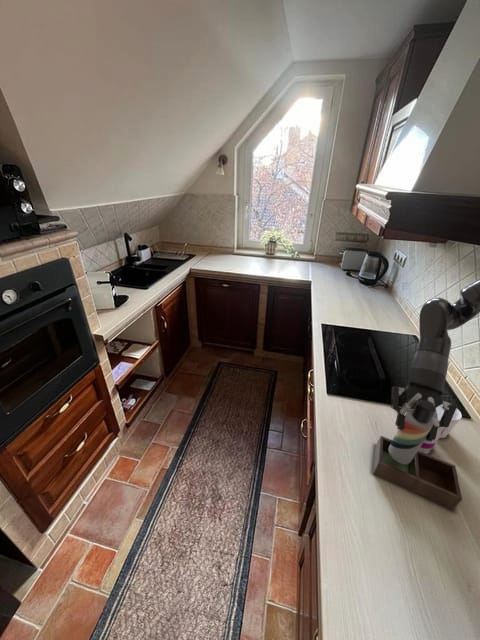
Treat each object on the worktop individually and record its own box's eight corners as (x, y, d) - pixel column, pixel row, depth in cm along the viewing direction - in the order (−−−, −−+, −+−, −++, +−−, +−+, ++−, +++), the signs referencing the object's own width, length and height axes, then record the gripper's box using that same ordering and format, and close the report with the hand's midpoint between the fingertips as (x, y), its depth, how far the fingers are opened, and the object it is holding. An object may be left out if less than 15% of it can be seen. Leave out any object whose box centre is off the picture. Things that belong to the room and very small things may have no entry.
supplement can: (429, 438, 82) (449, 406, 75) (431, 460, 76) (453, 427, 68) (401, 427, 86) (417, 395, 78) (400, 446, 79) (418, 414, 72)
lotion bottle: (393, 441, 74) (418, 391, 64) (414, 456, 70) (445, 405, 60) (384, 453, 71) (410, 402, 61) (406, 469, 67) (437, 418, 57)
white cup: (443, 445, 80) (457, 424, 75) (416, 428, 85) (427, 408, 80) (451, 432, 85) (464, 411, 80) (424, 416, 90) (436, 396, 85)
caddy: (446, 477, 71) (455, 465, 69) (451, 511, 64) (462, 499, 61) (375, 447, 79) (380, 435, 76) (372, 474, 72) (378, 462, 69)
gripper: (400, 360, 66) (384, 423, 63) (469, 379, 61) (455, 450, 57) (394, 364, 73) (379, 422, 70) (455, 382, 67) (442, 446, 64)
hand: (413, 434), depth 64 cm, fingers closed on lotion bottle, 5 cm apart
